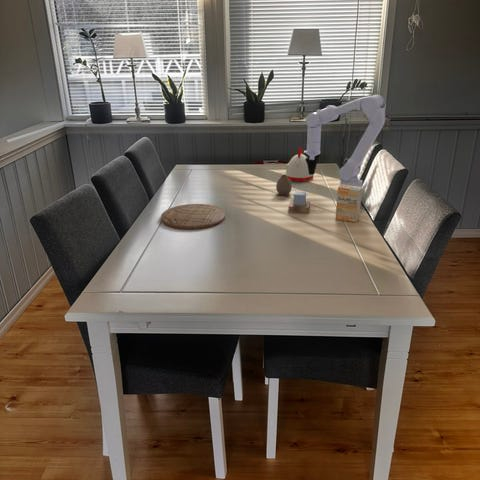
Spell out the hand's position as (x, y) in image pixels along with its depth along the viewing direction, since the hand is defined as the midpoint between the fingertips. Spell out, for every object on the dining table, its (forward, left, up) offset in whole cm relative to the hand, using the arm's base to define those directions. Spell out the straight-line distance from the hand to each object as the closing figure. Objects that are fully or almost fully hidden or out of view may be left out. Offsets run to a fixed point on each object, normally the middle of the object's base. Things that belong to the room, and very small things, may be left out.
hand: (312, 172), depth 199 cm
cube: (+3, +22, -7) cm, 24 cm away
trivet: (+43, +39, -10) cm, 59 cm away
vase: (+12, +3, -10) cm, 16 cm away
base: (+3, +22, -10) cm, 25 cm away
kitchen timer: (+8, -26, -10) cm, 29 cm away
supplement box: (-16, +30, -10) cm, 35 cm away
